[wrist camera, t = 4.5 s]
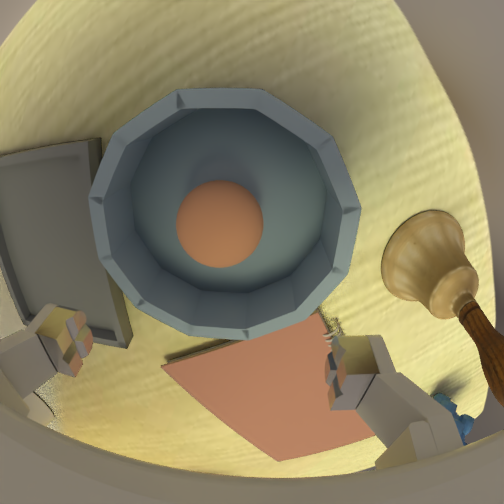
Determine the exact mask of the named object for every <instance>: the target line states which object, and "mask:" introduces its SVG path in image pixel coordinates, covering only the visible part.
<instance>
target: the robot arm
mask: <svg viewBox="0 0 504 504" xmlns="http://www.w3.org/2000/svg"><path fill="white" fill-rule="evenodd" d="M86 321H87V318H86V316H85V313H84V312H83V311H81V310H78V309H74V308H69V307H65V306H61V305H56V304H52V303H49V304H46V305H45V306H44V307H43V308H42V310H41V311H40V312H39V313H38V314H37V315H36V317H35V318H34V319H33V320H32V321H31V323H30V324H29V325H28V326H27V328H26V329H25V330H22V329H21V330H19V331H17V332H15V333H13V334H11V335H9V336H7V337H5V338H4V339H2V340H0V504H504V430H502V431H499V432H497V433H495V434H493V435H491V436H488V437H486V438H484V439H481V440H479V441H476V442H474V443H471V444H469V445H466V446H464V445H463V443H462V440H461V437H460V434H459V432H458V429H457V426H456V424H455V421H454V418H453V416H452V413H451V412H450V411H448V410H447V409H446V408H445V407H443V406H442V405H441V404H440V403H438V402H437V401H436V400H434V399H433V398H432V397H431V396H429V395H428V394H427V393H426V392H424V391H423V390H422V389H421V388H419V387H418V386H417V385H416V384H414V383H413V382H412V381H411V380H409V379H408V378H407V377H406V376H404V375H403V374H402V373H401V372H399V373H396V370H395V368H394V365H393V362H392V360H391V357H390V355H389V352H388V350H387V347H386V345H385V343H384V340H383V338H382V336H381V335H365V336H364V335H358V336H334V338H333V340H332V342H331V348H332V351H331V352H330V353H329V354H328V355H327V358H326V361H325V370H324V371H325V382H326V383H327V384H328V385H329V386H330V388H329V391H328V393H327V394H328V401H329V407H330V411H334V410H356V412H357V413H358V415H359V416H360V417H361V418H362V419H363V420H364V422H365V423H366V424H367V425H368V426H369V428H370V429H371V430H372V431H373V432H374V433H375V435H376V436H377V437H378V438H379V439H380V440H381V442H382V443H383V444H384V445H385V446H386V447H387V448H388V449H387V450H386V451H385V452H384V453H383V454H382V455H381V456H380V457H379V458H378V459H377V460H376V461H375V466H376V470H372V471H366V472H359V473H351V474H343V475H333V476H321V477H303V478H258V477H240V476H228V475H218V474H210V473H202V472H195V471H189V470H183V469H178V468H172V467H167V466H162V465H158V464H153V463H149V462H145V461H141V460H137V459H133V458H130V457H126V456H123V455H119V454H116V453H113V452H110V451H107V450H104V449H101V448H98V447H95V446H92V445H89V444H86V443H84V442H81V441H79V440H76V439H74V438H71V437H69V436H66V435H64V434H61V433H59V432H57V431H55V430H52V429H50V428H48V427H47V425H48V424H49V423H50V422H51V421H52V420H53V419H54V415H53V413H52V412H51V410H50V409H49V408H48V407H47V405H46V404H45V403H44V402H43V401H42V400H41V399H40V398H39V397H38V396H37V395H35V394H34V393H33V391H34V390H36V389H37V388H38V387H40V386H41V385H42V384H44V383H45V382H46V381H48V380H49V379H50V378H52V377H53V376H54V375H56V374H57V372H59V373H62V374H65V375H69V376H72V377H76V376H77V374H78V372H79V370H80V369H81V367H82V365H83V360H82V358H84V357H85V356H87V355H88V354H89V353H90V351H91V349H92V344H93V336H92V332H91V329H90V328H89V327H88V326H87V325H86V324H85V323H86Z"/></svg>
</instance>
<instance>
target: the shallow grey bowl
mask: <svg viewBox="0 0 504 504" xmlns="http://www.w3.org/2000/svg"><path fill="white" fill-rule="evenodd" d="M215 180H226V181H231V182H234V183H237V184H239V185H241V186H243V187H244V188H246V189H247V190H248V191H249V192H250V193H251V194H252V195H253V196H254V197H255V198H256V200H257V202H258V203H259V205H260V208H261V211H262V214H263V221H264V226H263V233H262V237H261V240H260V242H259V244H258V246H257V247H256V249H255V250H254V252H253V253H252V254H251V255H250V256H249V257H248V258H246V259H245V260H244V261H242V262H240V263H238V264H236V265H233V266H230V267H224V268H215V267H209V266H206V265H203V264H201V263H199V262H197V261H196V260H194V259H193V258H192V257H190V256H189V255H188V254H187V253H186V251H185V250H184V249H183V247H182V245H181V243H180V241H179V239H178V235H177V230H176V218H177V213H178V209H179V207H180V205H181V203H182V201H183V200H184V198H185V197H186V196H187V195H188V193H189V192H191V191H192V190H193V189H194V188H196V187H197V186H199V185H201V184H203V183H206V182H209V181H215ZM88 200H89V207H90V214H91V220H92V226H93V232H94V238H95V243H96V248H97V253H98V258H99V260H100V262H101V263H102V264H103V266H104V267H105V269H106V270H107V271H108V273H109V274H110V275H111V277H112V278H113V279H114V281H115V282H116V283H117V285H118V286H119V287H120V289H121V290H122V291H123V292H124V294H125V295H126V296H127V297H128V299H129V300H130V301H131V302H132V304H133V305H134V306H135V307H136V308H137V309H139V310H141V311H143V312H144V313H146V314H148V315H150V316H152V317H153V318H155V319H157V320H159V321H161V322H163V323H165V324H167V325H169V326H170V327H172V328H174V329H176V330H178V331H180V332H182V333H184V334H186V335H188V336H196V337H206V338H219V339H232V340H252V339H254V338H257V337H260V336H263V335H266V334H269V333H272V332H274V331H277V330H280V329H283V328H285V327H288V326H291V325H293V324H296V323H299V322H301V321H304V320H306V319H307V318H308V317H309V316H310V315H311V314H312V313H313V312H314V310H315V309H316V308H317V307H318V306H319V305H320V304H321V303H322V302H323V301H324V300H325V299H326V298H327V297H328V296H329V294H330V293H331V292H332V291H333V290H334V289H335V288H336V287H337V286H338V285H339V283H340V282H341V281H342V280H343V279H344V278H345V277H346V276H347V275H348V271H349V267H350V263H351V258H352V254H353V249H354V244H355V240H356V235H357V230H358V225H359V219H360V214H361V205H360V202H359V199H358V197H357V194H356V191H355V189H354V186H353V184H352V181H351V178H350V176H349V173H348V171H347V168H346V166H345V164H344V161H343V159H342V156H341V154H340V152H339V149H338V147H337V145H336V142H335V140H334V138H333V136H331V135H330V134H329V133H327V132H326V131H325V130H323V129H322V128H321V127H319V126H318V125H316V124H315V123H314V122H312V121H311V120H309V119H308V118H306V117H305V116H303V115H302V114H300V113H299V112H298V111H296V110H295V109H293V108H292V107H290V106H288V105H287V104H285V103H284V102H282V101H281V100H279V99H278V98H276V97H274V96H273V95H271V94H270V93H268V92H266V91H265V90H263V89H253V88H193V89H176V90H175V91H173V92H172V93H170V94H168V95H167V96H165V97H164V98H162V99H161V100H159V101H158V102H156V103H155V104H153V105H152V106H150V107H149V108H147V109H146V110H144V111H143V112H141V113H140V114H139V115H137V116H136V117H134V118H133V119H132V120H130V121H129V122H128V123H126V124H125V125H123V126H122V127H121V128H120V129H118V130H117V131H116V132H114V133H113V135H112V137H111V139H110V142H109V144H108V146H107V149H106V151H105V153H104V156H103V158H102V161H101V163H100V166H99V168H98V171H97V174H96V176H95V179H94V182H93V185H92V187H91V190H90V193H89V196H88Z"/></svg>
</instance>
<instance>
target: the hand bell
mask: <svg viewBox="0 0 504 504" xmlns="http://www.w3.org/2000/svg"><path fill="white" fill-rule="evenodd" d="M464 252H465V240H464V235H463V232H462V229H461V227H460V225H459V223H458V222H457V221H456V220H455V218H454V217H452V216H451V215H449V214H447V213H445V212H442V211H426V212H423V213H420V214H418V215H416V216H414V217H412V218H410V219H409V220H407V221H406V222H405V223H404V224H403V225H402V226H400V227H399V229H398V230H397V231H396V232H395V233H394V235H393V236H392V237H391V239H390V241H389V243H388V244H387V246H386V249H385V252H384V255H383V259H382V264H381V272H382V279H383V282H384V284H385V286H386V288H387V289H388V290H389V292H390V293H392V294H393V295H394V296H396V297H398V298H400V299H403V300H407V301H419V302H421V303H422V304H423V305H424V306H425V307H426V308H427V309H428V310H429V311H430V313H431V314H432V315H433V316H435V317H436V318H439V319H450V318H453V317H455V316H457V317H458V318H459V321H460V323H461V324H462V325H463V326H464V328H465V330H466V331H467V332H468V334H469V335H470V337H471V338H472V339H473V341H474V342H475V344H476V346H477V348H478V351H479V355H480V360H481V365H482V369H483V372H484V375H485V378H486V380H487V382H488V385H489V387H490V389H491V391H492V393H493V394H494V396H495V398H496V399H497V400H498V402H499V403H500V404H501V405H502V406H503V407H504V336H503V335H501V334H500V333H498V331H496V330H495V328H494V327H493V326H492V325H491V323H490V322H489V320H488V319H487V317H486V316H485V314H484V312H483V311H482V310H481V308H480V306H479V305H478V303H477V302H476V300H475V299H474V297H475V295H476V293H477V290H478V285H479V279H478V275H477V272H476V270H475V269H474V268H473V267H472V265H471V264H470V262H469V261H468V259H467V257H466V256H465V254H464Z"/></svg>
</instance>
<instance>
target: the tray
mask: <svg viewBox="0 0 504 504" xmlns="http://www.w3.org/2000/svg"><path fill="white" fill-rule="evenodd" d="M101 161H102V149H101V138H94V139H87V140H79V141H72V142H66V143H60V144H54V145H48V146H43V147H38V148H33V149H28V150H23V151H19V152H14V153H10V154H6V155H2V156H0V267H1V270H2V273H3V276H4V279H5V281H6V284H7V287H8V289H9V292H10V294H11V297H12V299H13V302H14V304H15V307H16V309H17V311H18V313H19V316H20V318H21V320H22V322H23V324H24V325H26V326H28V325H29V324H30V323H31V321H32V320H33V319H34V318H35V317H36V315H37V314H38V313H39V312H40V311H41V310H42V308H43V307H44V306H45V305H46V304H49V303H52V304H56V305H61V306H65V307H69V308H74V309H78V310H81V311H83V312H84V313H85V316H86V318H87V321H86V323H85V324H86V325H87V326H88V327H89V328H90V329H91V332H92V336H93V342H94V343H99V344H104V345H109V346H114V347H119V348H125V349H127V348H128V346H129V344H130V342H131V340H132V338H133V333H132V329H131V326H130V322H129V318H128V314H127V311H126V307H125V302H124V298H123V294H122V290H121V289H120V287H119V286H118V285H117V283H116V282H115V281H114V279H113V278H112V277H111V275H110V274H109V273H108V271H107V270H106V269H105V267H104V266H103V264H102V263H101V262H100V260H99V258H98V253H97V248H96V243H95V238H94V232H93V226H92V220H91V214H90V207H89V200H88V196H89V193H90V190H91V187H92V185H93V182H94V179H95V176H96V174H97V171H98V168H99V166H100V163H101Z"/></svg>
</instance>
